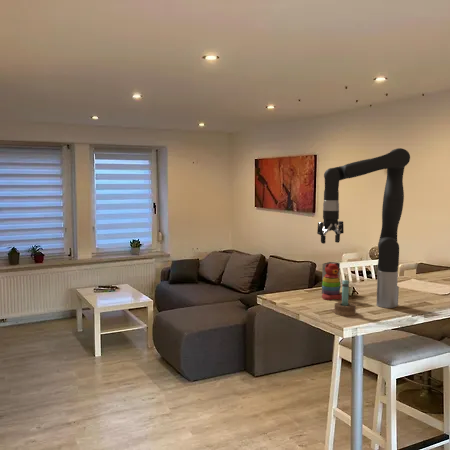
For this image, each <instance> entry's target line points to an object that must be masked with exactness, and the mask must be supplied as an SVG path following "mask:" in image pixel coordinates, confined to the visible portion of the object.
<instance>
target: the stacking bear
mask: <svg viewBox="0 0 450 450" xmlns="http://www.w3.org/2000/svg"><path fill="white" fill-rule="evenodd" d="M325 272H326V275H325V276H324V278H323V282H322V281H321V290H322V289H323V293H321V294H322V295H321V298H322V299H323V300H324V301H325V300H326V301H332V300H339V301H340V300H341V301H342V293H340V292H341V288H342V287H341V286H342V283H341V280H340V279H341V278H340V275H339V276H338V275H337V274H338V272H339V268H338V266H337V264H336V263H335V264H326V267H325ZM339 273H340V272H339Z"/></svg>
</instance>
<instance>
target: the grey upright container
mask: <svg viewBox="0 0 450 450" xmlns="http://www.w3.org/2000/svg"><path fill="white" fill-rule="evenodd" d="M335 263H336V264H337V266H338V268H339V272H338V274H337V275H338V276H339V277H340V272H341V271H340V267H341V266H340V264H341V263H340V262H335V261H328V262H325V263H322V269H321V270H322V271H321V273H322V276H321V277H322V278H321V283H322V282H323V278H324V276H325V275H326V272H325V267H326V264H335ZM321 294H323V289H322V288H321Z"/></svg>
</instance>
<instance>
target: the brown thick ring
mask: <svg viewBox="0 0 450 450" xmlns="http://www.w3.org/2000/svg"><path fill="white" fill-rule="evenodd" d="M356 307H357V305H356V304H355V303H352V302H348V306H342V301H339V302H336V303H334V314H335V315H337V316H342V317H353V316H355V315H356V309H357V308H356Z"/></svg>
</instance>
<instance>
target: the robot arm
mask: <svg viewBox="0 0 450 450" xmlns="http://www.w3.org/2000/svg"><path fill="white" fill-rule="evenodd" d="M410 160H411V155H410V153H409V151H408V150H406V149H405V148H400V147H398V148H395V149H392V150H391V151H389V152H388V153H386V154H383V155H380V156H377V157H376V156H375V157H372V158H367V159H362V160H358V161H357V160H356V161H353V162H349V163H346V164H344V165H340V166H336V167H330V168H328V169H326V170H325V171H324V174H323V178H324V190H323V204H322V219H323V221H320V222H319V221H318V222H317V232H316V233H317V235H319V236H320V242H321V244H326V237H327V236H326V235H327V233H328V232H331V231H333V232H334V234H335V235H334V236H335V237H334V241H335V243H336V244H337V243H340V240H341V234H344V221H343V220H339V219H340V202H339V200H340V199H339V198H340V196H339V193H340V191H339V189H340V188H339V187H340V182H341V181H342V180H346V179H352V178H353V179H354V178H358V177H361V176H364V175H368V174H370V173H373V172H377V171H381V170H386V182H385V185H384V186H385V187H384V190H383V191H384V192H383V198H382V207H381V208H382V209H381V231H380V235H379V240H378V243H377V248H378V255H377V256H378V259H377V275H376V276H377V278H376V279H377V280H376V284H377V285H376V306H377V307H380V308H386V309H391V308H393V309H394V308H396V307H397V306H399V288H400V287H399V285H398V280H399V279H398V274H399V264H400V244H399V243H398V229H399V224H400V220H401V217H402V214H403V208H404V200H405V192H404V191H405V190H404V183H403V182H404V181H403V179H404V173H405V167H407V165H408V164H409V163H410Z"/></svg>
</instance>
